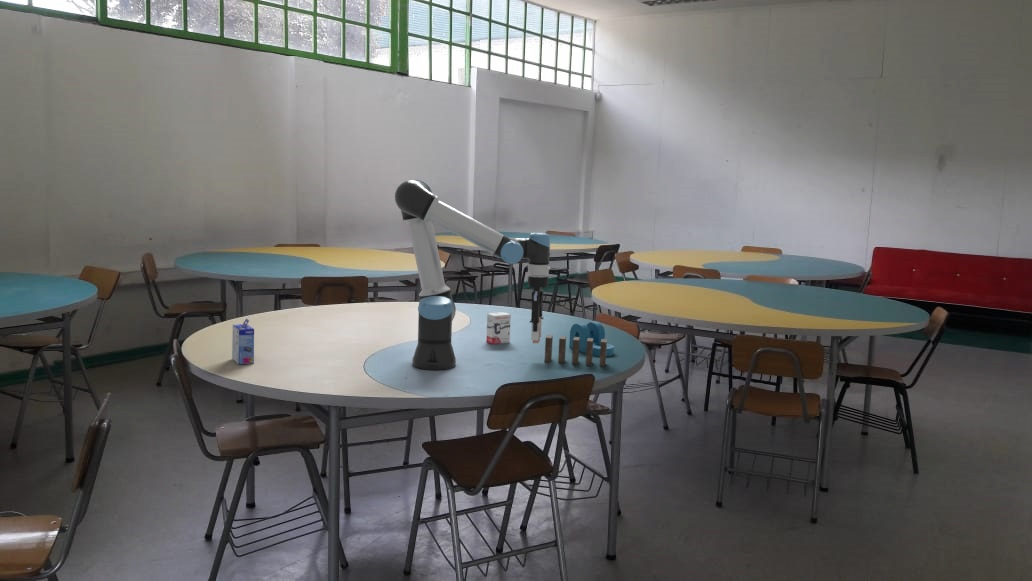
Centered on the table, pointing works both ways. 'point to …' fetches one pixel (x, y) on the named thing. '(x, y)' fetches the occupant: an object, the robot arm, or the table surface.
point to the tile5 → (589, 351)
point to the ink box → (498, 327)
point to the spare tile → (539, 333)
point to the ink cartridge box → (243, 343)
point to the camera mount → (590, 331)
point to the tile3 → (562, 349)
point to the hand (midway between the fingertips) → (536, 338)
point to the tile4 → (575, 350)
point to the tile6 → (603, 352)
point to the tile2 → (548, 348)
